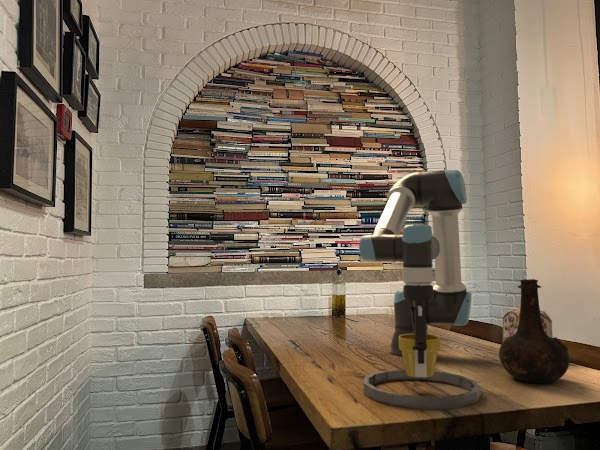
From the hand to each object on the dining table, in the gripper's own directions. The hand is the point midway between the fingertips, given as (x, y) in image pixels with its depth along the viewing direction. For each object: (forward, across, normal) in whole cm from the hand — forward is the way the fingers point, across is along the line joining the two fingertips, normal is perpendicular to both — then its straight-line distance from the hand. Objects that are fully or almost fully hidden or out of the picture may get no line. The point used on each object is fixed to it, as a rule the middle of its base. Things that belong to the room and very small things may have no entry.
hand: (419, 371), depth 126 cm
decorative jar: (+5, +52, -39) cm, 65 cm away
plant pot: (+1, 0, 0) cm, 1 cm away
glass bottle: (+5, +19, -32) cm, 37 cm away
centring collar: (+5, 0, 0) cm, 5 cm away
